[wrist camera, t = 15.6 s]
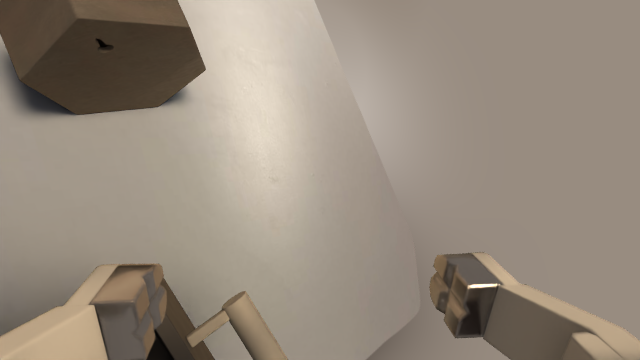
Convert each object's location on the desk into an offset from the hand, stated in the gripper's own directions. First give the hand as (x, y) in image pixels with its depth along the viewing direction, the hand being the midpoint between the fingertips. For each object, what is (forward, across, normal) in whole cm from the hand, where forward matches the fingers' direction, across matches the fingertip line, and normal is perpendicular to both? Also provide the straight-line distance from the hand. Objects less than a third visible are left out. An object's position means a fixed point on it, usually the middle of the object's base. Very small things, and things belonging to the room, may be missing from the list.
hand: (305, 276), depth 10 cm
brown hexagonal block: (+41, +24, -1) cm, 48 cm away
